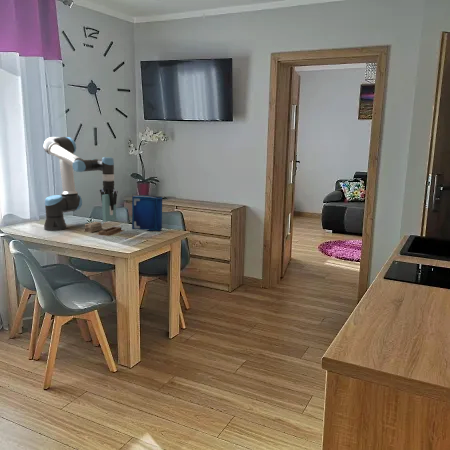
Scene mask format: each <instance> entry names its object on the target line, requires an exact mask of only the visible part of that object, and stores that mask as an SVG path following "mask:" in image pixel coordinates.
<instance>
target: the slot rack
mask: <svg viewBox="0 0 450 450" xmlns="http://www.w3.org/2000/svg"><path fill="white" fill-rule="evenodd" d="M125 231H126V230H125V229H122V227H120V226H110V227H108V228H105V229H104V228H103V229H101V230H98V231H97V232H96V233H95V235H97V236H107V237H111V236H114V235H117V234H120V233H122V232H125Z"/></svg>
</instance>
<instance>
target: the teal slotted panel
mask: <svg viewBox="0 0 450 450" xmlns="http://www.w3.org/2000/svg"><path fill="white" fill-rule="evenodd" d="M104 194H105V193H104ZM113 194H114V193H113ZM101 211H102V214H101V215H102V222H104V223H106V222H110V221H114V220H116V219H117V204H116V205H114V210H113V215H110V198H109V194H105V195H102V200H101Z"/></svg>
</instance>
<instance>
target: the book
mask: <svg viewBox="0 0 450 450" xmlns="http://www.w3.org/2000/svg"><path fill="white" fill-rule="evenodd" d="M131 201H132V202H131V206H132V207H131V212H132V213H131V214H132V215H131V218H132V219H131V229H132V230H143V231H144V230H146V231H147V232H155V231H156V232H160V231H162V229H163V197H161V196H155V195H145V194H134V195H132V199H131Z"/></svg>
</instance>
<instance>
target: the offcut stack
mask: <svg viewBox="0 0 450 450" xmlns="http://www.w3.org/2000/svg"><path fill="white" fill-rule="evenodd" d="M101 230H104V228H103V227H102V222H101V221H94V222H89V223H85V224H84V230H83V232H84V233H94V232H98V231H101Z"/></svg>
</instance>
